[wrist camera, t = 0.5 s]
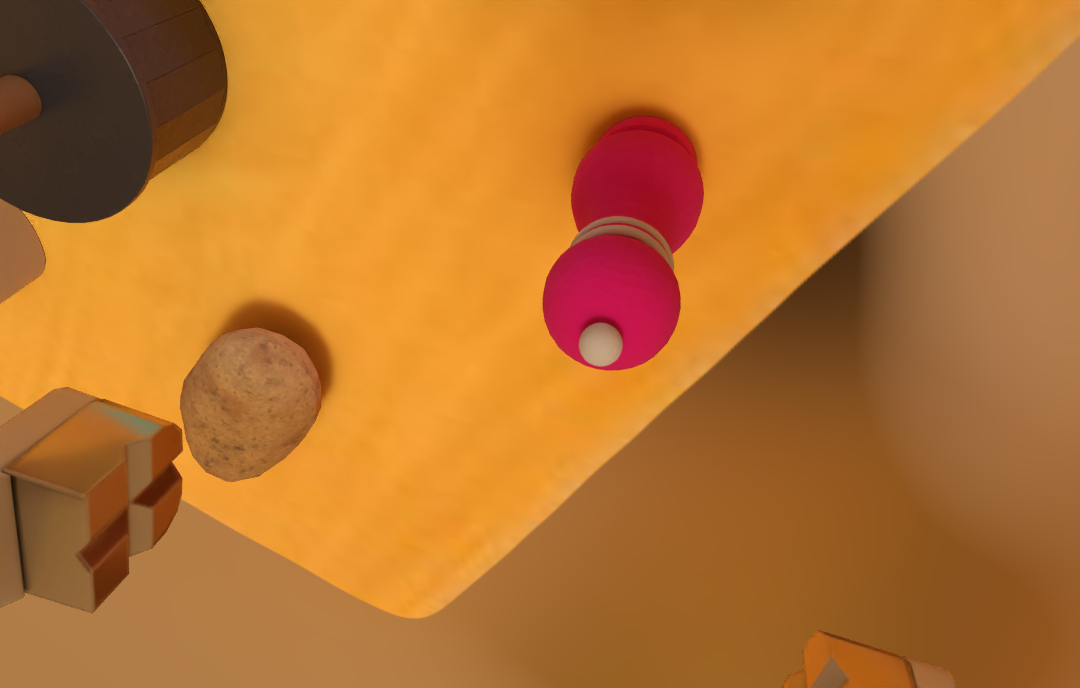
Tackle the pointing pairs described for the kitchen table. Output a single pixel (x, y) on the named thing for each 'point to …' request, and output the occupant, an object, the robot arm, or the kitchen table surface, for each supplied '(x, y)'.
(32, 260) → the lumpy-topped squat cylinder
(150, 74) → the pot
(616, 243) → the pepper mill
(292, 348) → the potato
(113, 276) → the kitchen table surface
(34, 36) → the pot lid
